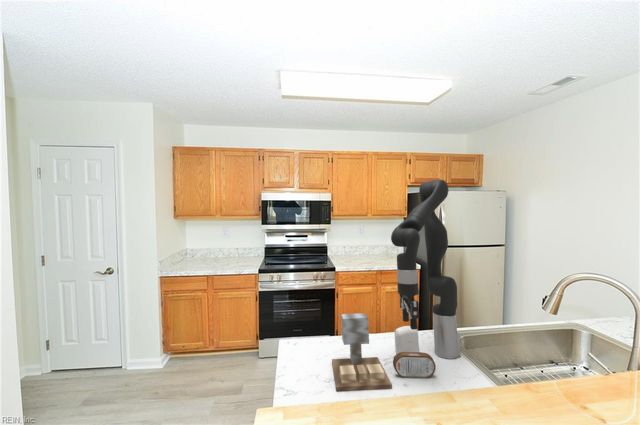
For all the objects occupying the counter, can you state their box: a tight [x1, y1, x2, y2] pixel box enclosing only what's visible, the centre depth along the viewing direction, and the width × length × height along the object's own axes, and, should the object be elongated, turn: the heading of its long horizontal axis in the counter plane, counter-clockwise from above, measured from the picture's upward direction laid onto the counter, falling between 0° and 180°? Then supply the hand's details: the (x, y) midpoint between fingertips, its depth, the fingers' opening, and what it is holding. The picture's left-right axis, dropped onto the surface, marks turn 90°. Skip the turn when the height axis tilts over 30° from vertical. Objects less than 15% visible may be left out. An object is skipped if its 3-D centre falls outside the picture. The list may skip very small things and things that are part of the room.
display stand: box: [331, 312, 393, 392], centre depth 103 cm, size 19×20×20 cm
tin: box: [392, 351, 437, 379], centre depth 100 cm, size 15×3×8 cm, turn 84°
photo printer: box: [394, 325, 420, 355], centre depth 116 cm, size 10×4×12 cm, turn 104°
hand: (409, 325), depth 102 cm, fingers open, 8 cm apart
